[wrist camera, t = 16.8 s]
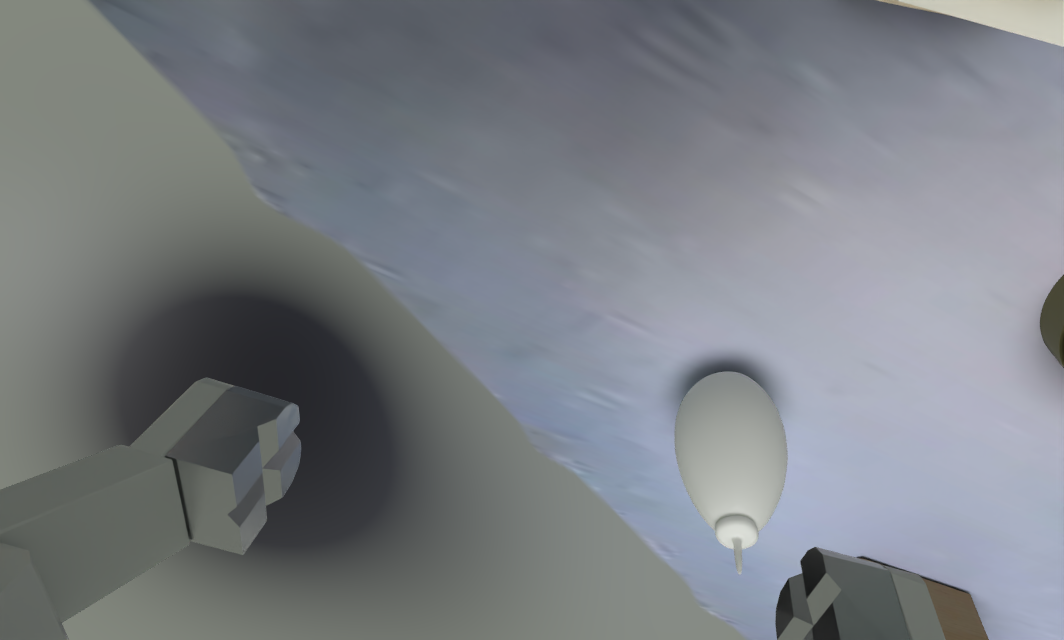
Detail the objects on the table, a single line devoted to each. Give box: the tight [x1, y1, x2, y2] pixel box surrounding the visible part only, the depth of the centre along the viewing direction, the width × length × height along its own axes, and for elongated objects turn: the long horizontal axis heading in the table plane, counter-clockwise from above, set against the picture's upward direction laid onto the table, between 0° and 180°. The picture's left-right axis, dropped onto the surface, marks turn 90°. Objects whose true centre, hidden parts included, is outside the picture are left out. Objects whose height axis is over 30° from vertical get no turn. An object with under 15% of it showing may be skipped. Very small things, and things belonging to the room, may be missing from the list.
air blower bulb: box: [675, 371, 788, 574], centre depth 46 cm, size 8×8×18 cm
